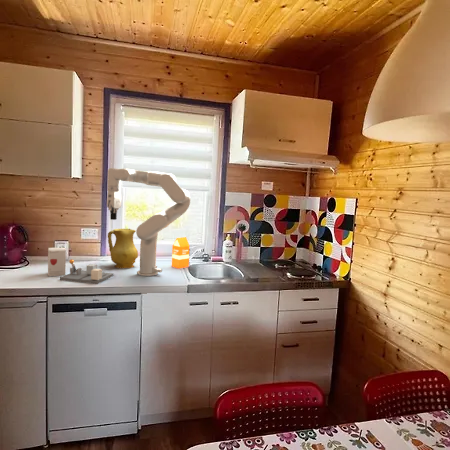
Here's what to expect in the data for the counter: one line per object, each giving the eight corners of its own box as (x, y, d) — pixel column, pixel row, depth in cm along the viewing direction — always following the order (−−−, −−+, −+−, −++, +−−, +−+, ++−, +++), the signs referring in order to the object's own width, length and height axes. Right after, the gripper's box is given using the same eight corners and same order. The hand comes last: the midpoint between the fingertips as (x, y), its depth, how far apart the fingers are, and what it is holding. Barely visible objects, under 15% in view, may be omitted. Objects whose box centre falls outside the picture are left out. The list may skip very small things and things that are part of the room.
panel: (113, 275, 201) (113, 267, 200) (97, 284, 183) (97, 274, 182) (79, 272, 204) (79, 264, 204) (60, 280, 186) (60, 271, 186)
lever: (79, 270, 195) (74, 258, 190) (76, 273, 194) (71, 261, 188) (75, 270, 196) (70, 258, 190) (72, 273, 194) (67, 261, 188)
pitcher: (121, 270, 213) (122, 230, 212) (103, 266, 224) (104, 228, 223) (143, 267, 227) (144, 229, 226) (125, 263, 238) (126, 227, 237)
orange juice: (171, 266, 233) (172, 237, 231) (181, 264, 239) (182, 236, 237) (179, 268, 228) (180, 238, 226) (188, 266, 234) (190, 237, 232)
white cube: (96, 273, 198) (96, 264, 197) (92, 274, 194) (93, 266, 193) (90, 272, 198) (90, 264, 198) (86, 274, 195) (86, 265, 194)
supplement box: (47, 276, 192) (48, 250, 190) (47, 272, 199) (47, 247, 198) (65, 275, 196) (66, 249, 194) (65, 271, 204) (65, 247, 202)
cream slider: (101, 278, 188) (101, 269, 188) (97, 280, 184) (98, 270, 184) (95, 277, 189) (95, 268, 188) (91, 279, 185) (91, 270, 184)
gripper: (113, 189, 198) (113, 220, 200) (125, 189, 213) (124, 218, 215) (101, 188, 199) (101, 220, 201) (114, 188, 214) (113, 218, 216)
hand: (113, 219), depth 208 cm, fingers closed
